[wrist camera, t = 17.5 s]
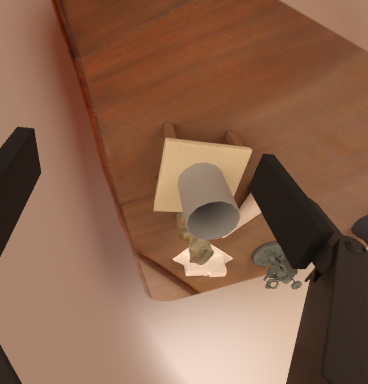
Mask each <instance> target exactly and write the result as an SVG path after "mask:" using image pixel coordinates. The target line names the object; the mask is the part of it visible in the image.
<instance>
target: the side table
mask: <svg viewBox="0 0 368 384" xmlns="http://www.w3.org/2000/svg"><path fill="white" fill-rule="evenodd" d="M163 133H164V138H165V143H164V149H163V155H162V161H161V166H160V172H159V178H155V182H154V186H155V201H154V211H168V212H183V209H182V205H181V200H180V195H179V190H178V185H177V184H178V180H179V176H180V175H181V173H182V172H183V171H184V170H185V169H186V168H188V167H190V166H192V165H194V164H196V163H205V162H207V163H210V164H213V165H216V166H217V167H218V168H219V169H220V170H221V171H222V173H223V176H224V178H225V180H226V182H227V184H228V187H229V189H230V191H231V193H232V195H233V197H234V195H235V192H236V190H237V187H238V185H239V182H240V180H241V178H242V175H243V173H244V170H245V168H246V165H247V163H248V160H249V158H250V156H251V153H252V149H251V148H250V147H244V145H243V144H242V142H241V141H240V139H239V138H238V136H237V135H236V133H235V132H232V131H227V133H226V137H225V139H226V141H227V142H228V144H229V145H224V144H216V143H207V142H199V141H190V140H182V139H177V138H176V135H175V131H174V127H173V124H171V123H164V127H163Z"/></svg>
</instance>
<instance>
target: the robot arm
mask: <svg viewBox="0 0 368 384" xmlns="http://www.w3.org/2000/svg"><path fill="white" fill-rule="evenodd" d="M40 174H41V168H40V162H39V156H38V150H37V144H36V137H35V131H34V129H33V128H23V127H17V128H16V129H15V130H14V132H13V133H12V135H10V137H9V138H8V139H7V141H6V142H5V143H4V144H3V145H2V147H1V148H0V256H1V254H2V252H3V250H4V248H5V246H6V244H7V242H8V240H9V238H10V236H11V234H12V232H13V230H14V228H15V226H16V224H17V221H18V219H19V217H20V215H21V213H22V211H23V209H24V207H25V205H26V203H27V201H28V199H29V197H30V195H31V193H32V191H33V189H34V186H35V184H36V182H37V180H38V178H39V176H40ZM248 189H249V190H250V192H251V194H252V196H253V198H254V200H255V201H256V203H257V205H258V207H259V209H260V211H261V212H262V214H263V216H264V218H265V220H266V222H267V224H268V225H269V227H270V229H271V231H272V233H273V235H274V236H275V238H276V240H277V242H278V244H279V246H280V247H281V249H282V251H283V253H284V255H285V257H286V258H287V260H288V262H289V264H290V266H291V268H292V269H306V268H307V267H308V265H309V264H310V263H311V262H312V263H313V264H314V266H315V268H314V269H313V271H312V272H311V273H310V274H309V276H308V277H307V278H306V279H305V282H307V281H308V280H310V282H309V287H308V291H307V295H306V299H305V304H304V308H303V312H302V317H301V321H300V325H299V330H298V334H297V338H296V343H295V348H294V352H293V356H292V360H291V365H290V369H289V373H288V378H287V382H286V384H368V251H367V249H366V248H365V246H364V245H363V244H361V243H360V242H359V241H357V240H356V239H354V238H351V237H349V236H343V235H342V233H341V232H340V231H339V230H338V229H337V227H336V226H335V225H334V224H333V222H332V221H331V220H330V219H329V218H328V216H327V215H326V214H325V213H324V212H323V210H322V209H321V208H320V206H319V205H318V204H317V203H315V202H314V201H313V200H312V199H310V198H308V197H307V196H306V195H305V194H304V192H303V191H302V190H301V188H300V187H299V186H298V185H297V183H296V182H295V181H294V180H293V178H292V177H291V176H290V175H289V173H288V172H287V171H286V170H285V168H284V167H283V166H282V165H281V163H280V162H279V161H278V160H277V158H276V157H275V156H274V155H270V154H263V155H262V157H261V160H260V162H259V164H258V166H257V169H256V171H255V173H254V176H253V178H252V180H251V182H250V185H249V187H248ZM0 384H22V383H21V381H20V379H19V378H18V376H17V374H16V372H15V370H14V369H13V367H12V365H11V363H10V362H9V360H8V358H7V356H6V355H5V353H4V351H3V349H2V347H1V345H0Z"/></svg>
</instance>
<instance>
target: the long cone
mask: <svg viewBox="0 0 368 384" xmlns="http://www.w3.org/2000/svg"><path fill="white" fill-rule="evenodd" d="M239 213H240V220H239V222H238V224H237V227H236V228H235V229H233V230H232V231H231V232H230V233H229V234H227V235H225V236H223V237H222V238H225V237H227V236H228V235H230V234H231V233H232V232H234V231H235V230H236V229H238V228H239V227H241V226H242V225H243V224H246V223H247V222H249V221H250V220H251V219H253V218H254V217H256V216H257V215H258V214H260V213H261V211H260V209H259V207H258V205H257V203H256V201H255V200H254V198H253V196H252V194H251V192H250V194H249V195H248V197H247V198H246V199H245V201H244V202H243V204H242V205H241V207H240V208H239Z"/></svg>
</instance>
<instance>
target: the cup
mask: <svg viewBox="0 0 368 384" xmlns="http://www.w3.org/2000/svg"><path fill="white" fill-rule="evenodd" d="M177 185H178V190H179V195H180V200H181V205H182V209H183V214H184V219H185V224H186V227H187V230H188V233H189V234H191V235H192V236H194V237H195V238H198V239H203V240H212V239H218V238H220V237H223V236H225V235H227V234H229V233H230V232H231V231H232V230H233V229H235V228H236V227H237V224H238V222H239V220H240V213H239V209H238V206H237V204H236V202H235V200H234V198H233V195H232V193H231V191H230V189H229V187H228V184H227V182H226V180H225V178H224V176H223V173H222V171H221V170H220V169H219V168H218V167H217V166H216V165H213V164H210V163H207V162H205V163H196V164H194V165H192V166H190V167H188V168H186V169H185V170H184V171H183V172H182V173H181V175H180V176H179V180H178V184H177Z"/></svg>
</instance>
